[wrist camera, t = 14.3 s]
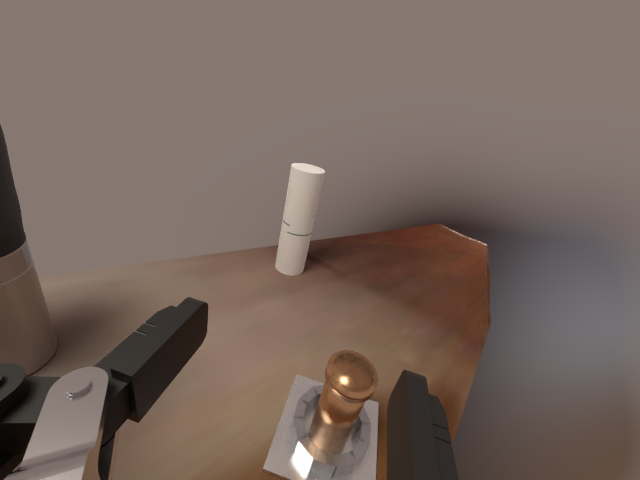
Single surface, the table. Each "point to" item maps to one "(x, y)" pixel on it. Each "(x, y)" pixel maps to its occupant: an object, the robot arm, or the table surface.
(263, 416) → the table surface
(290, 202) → the cylindrical container
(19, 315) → the robot arm
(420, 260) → the table surface
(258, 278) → the table surface
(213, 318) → the table surface
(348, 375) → the copper pipe
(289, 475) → the duct collar
